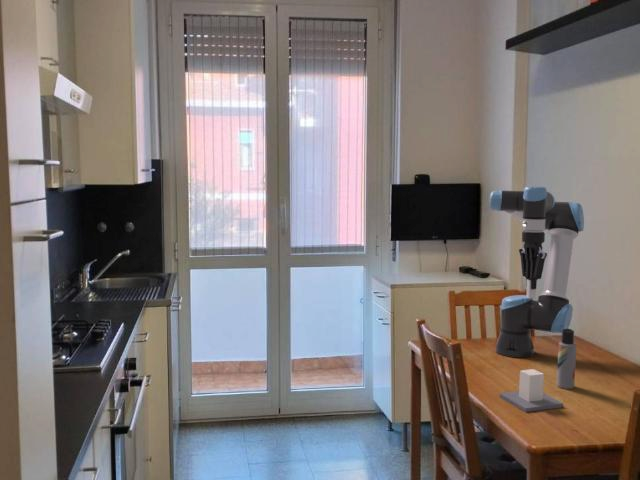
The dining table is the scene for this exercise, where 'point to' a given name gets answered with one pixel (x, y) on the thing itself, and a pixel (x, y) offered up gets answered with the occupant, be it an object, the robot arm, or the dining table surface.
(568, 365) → the lotion bottle
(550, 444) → the dining table surface
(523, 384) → the tall white block
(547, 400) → the post board
